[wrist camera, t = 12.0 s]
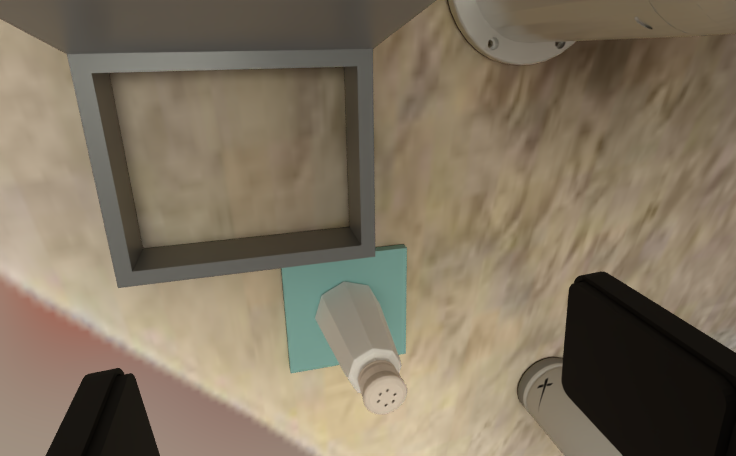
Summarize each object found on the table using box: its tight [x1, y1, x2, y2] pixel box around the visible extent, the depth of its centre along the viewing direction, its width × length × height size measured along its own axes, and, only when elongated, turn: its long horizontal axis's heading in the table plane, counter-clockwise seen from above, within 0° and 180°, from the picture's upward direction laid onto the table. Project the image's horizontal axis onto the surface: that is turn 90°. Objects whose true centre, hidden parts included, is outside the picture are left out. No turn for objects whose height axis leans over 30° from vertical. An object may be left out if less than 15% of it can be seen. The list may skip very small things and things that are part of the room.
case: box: [67, 49, 375, 288], centre depth 32 cm, size 17×14×4 cm
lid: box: [0, 0, 436, 54], centre depth 21 cm, size 17×14×1 cm
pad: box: [281, 244, 407, 373], centre depth 40 cm, size 10×10×1 cm
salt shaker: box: [315, 282, 407, 414], centre depth 34 cm, size 5×5×11 cm
